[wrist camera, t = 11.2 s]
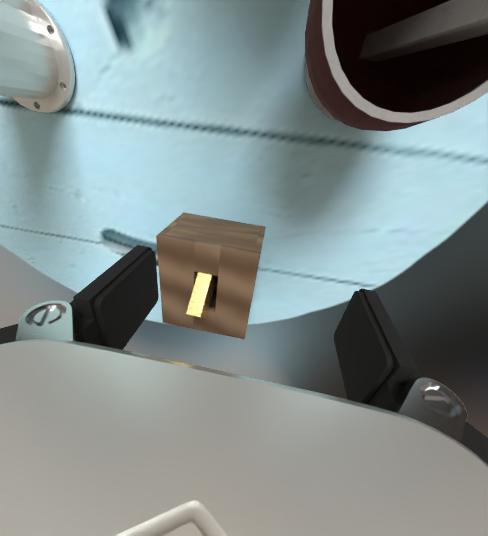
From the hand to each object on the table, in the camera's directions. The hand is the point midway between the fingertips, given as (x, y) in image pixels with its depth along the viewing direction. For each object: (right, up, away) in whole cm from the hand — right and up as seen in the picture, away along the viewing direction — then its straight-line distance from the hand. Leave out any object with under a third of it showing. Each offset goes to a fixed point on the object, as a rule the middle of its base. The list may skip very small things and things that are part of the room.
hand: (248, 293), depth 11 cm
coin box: (-5, +3, +33) cm, 33 cm away
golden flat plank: (-6, 0, +25) cm, 26 cm away
